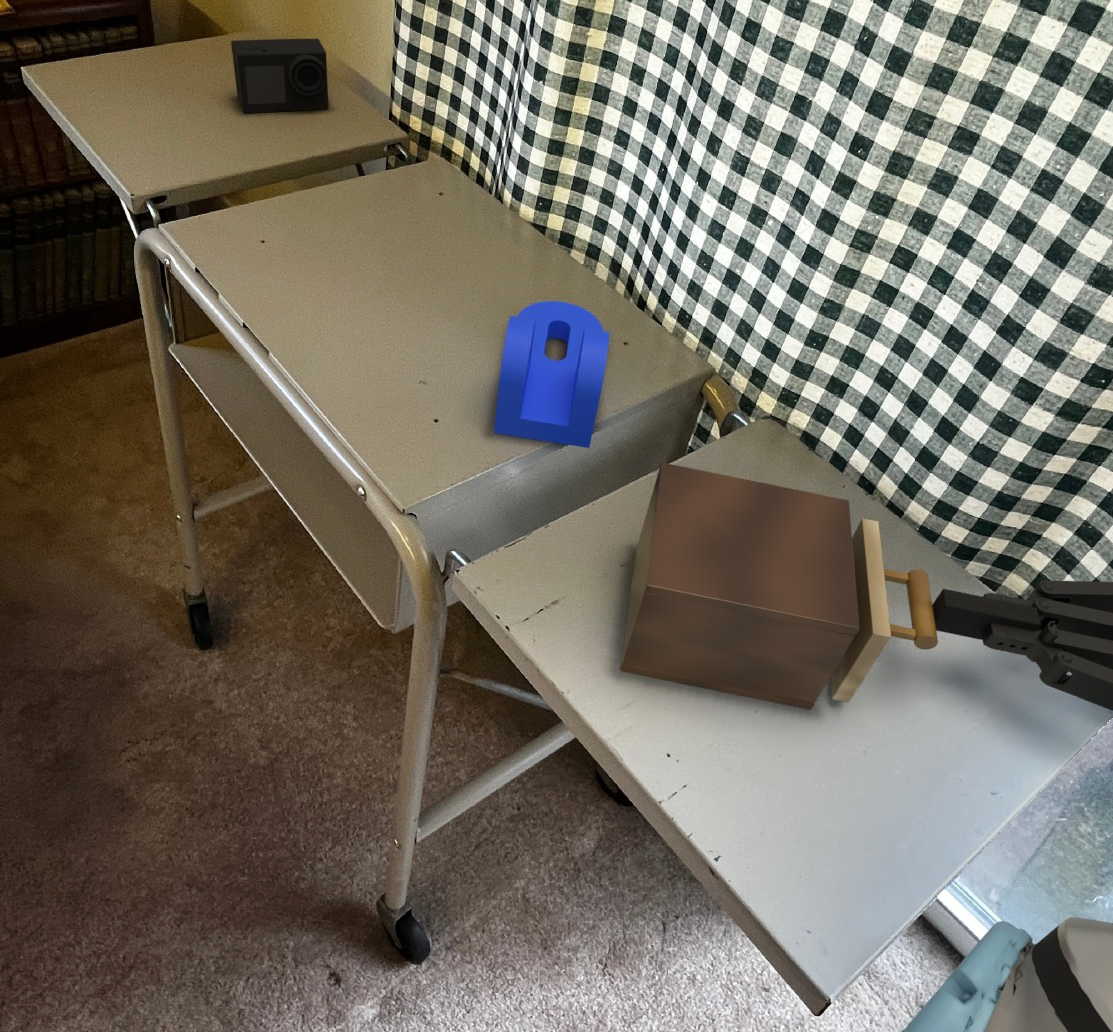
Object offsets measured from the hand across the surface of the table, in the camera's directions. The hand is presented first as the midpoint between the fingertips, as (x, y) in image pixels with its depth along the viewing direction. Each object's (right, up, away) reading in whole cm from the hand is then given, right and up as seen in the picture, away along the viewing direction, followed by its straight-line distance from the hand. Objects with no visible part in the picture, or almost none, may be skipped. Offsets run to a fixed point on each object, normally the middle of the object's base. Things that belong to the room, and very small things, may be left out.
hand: (936, 609), depth 66 cm
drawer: (-9, -2, +4) cm, 10 cm away
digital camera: (-60, +57, +52) cm, 98 cm away
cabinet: (-14, -2, +5) cm, 15 cm away
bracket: (-27, +19, +22) cm, 40 cm away
